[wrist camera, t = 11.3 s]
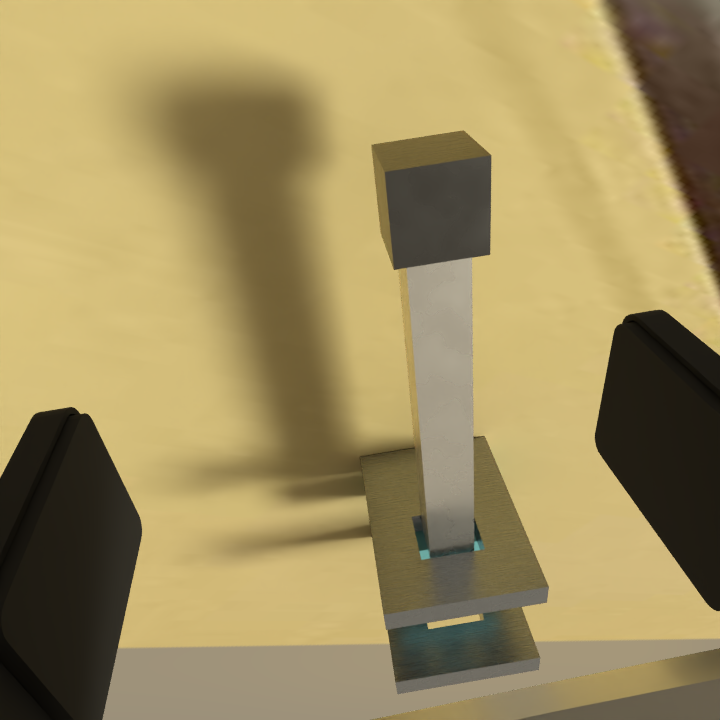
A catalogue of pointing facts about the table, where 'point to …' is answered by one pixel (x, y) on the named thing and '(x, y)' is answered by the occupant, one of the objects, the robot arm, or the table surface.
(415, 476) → the pair of grey plates
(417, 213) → the shaft
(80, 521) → the robot arm
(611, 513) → the table surface
